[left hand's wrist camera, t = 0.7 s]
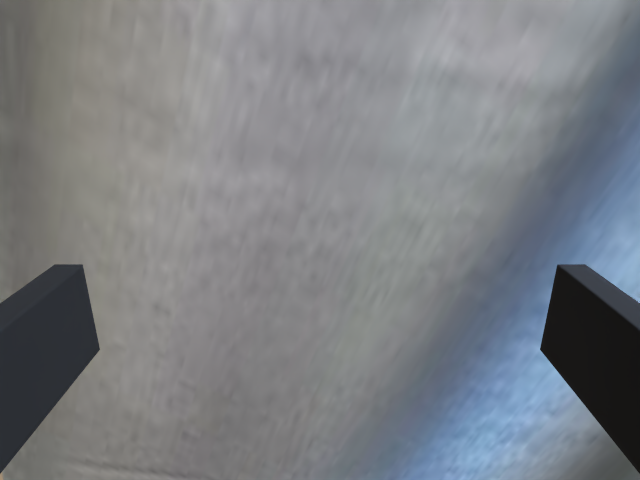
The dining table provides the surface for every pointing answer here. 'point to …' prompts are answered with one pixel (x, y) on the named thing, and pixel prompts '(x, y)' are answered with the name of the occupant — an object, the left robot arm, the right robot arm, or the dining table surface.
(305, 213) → the dining table surface
